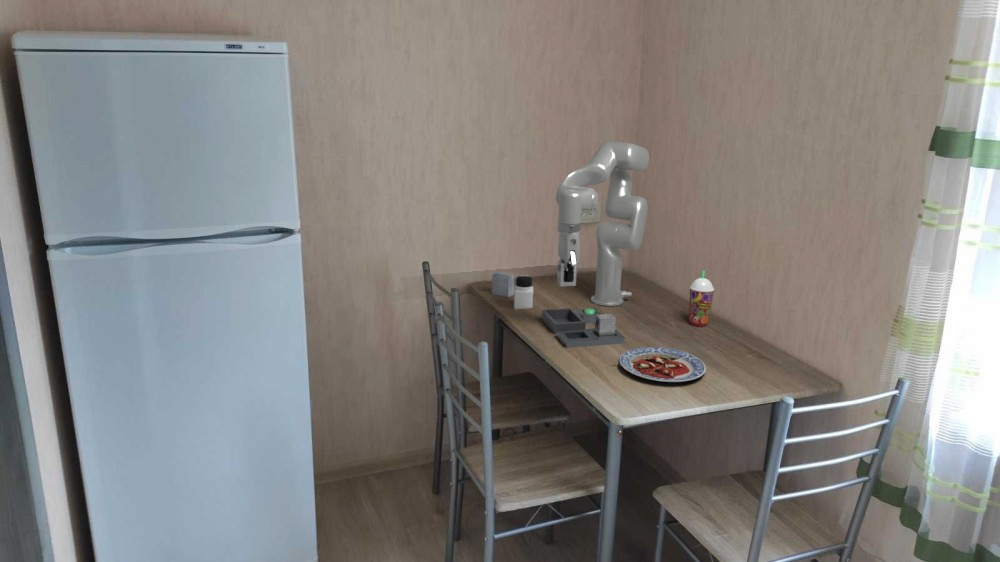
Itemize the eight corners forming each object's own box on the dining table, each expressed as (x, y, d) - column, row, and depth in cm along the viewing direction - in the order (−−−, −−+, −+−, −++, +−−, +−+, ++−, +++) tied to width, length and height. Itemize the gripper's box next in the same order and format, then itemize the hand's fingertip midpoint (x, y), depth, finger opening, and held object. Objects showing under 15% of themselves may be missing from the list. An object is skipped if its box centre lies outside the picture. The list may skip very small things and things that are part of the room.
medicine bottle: (533, 310, 270) (534, 279, 266) (514, 309, 270) (514, 279, 266) (532, 304, 277) (533, 274, 273) (514, 303, 277) (514, 273, 273)
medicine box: (514, 295, 287) (514, 274, 284) (508, 298, 283) (508, 276, 281) (497, 291, 291) (498, 271, 288) (491, 294, 287) (492, 273, 285)
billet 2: (609, 336, 243) (611, 313, 240) (614, 340, 239) (615, 317, 237) (593, 337, 241) (595, 314, 239) (598, 341, 238) (599, 318, 235)
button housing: (594, 318, 262) (595, 308, 261) (601, 325, 256) (602, 314, 254) (576, 319, 260) (576, 309, 259) (582, 326, 254) (583, 315, 253)
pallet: (612, 335, 246) (612, 327, 245) (624, 346, 237) (624, 337, 236) (556, 339, 242) (557, 331, 241) (566, 350, 232) (566, 342, 232)
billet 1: (572, 282, 248) (573, 259, 246) (575, 285, 244) (576, 263, 242) (556, 283, 247) (557, 260, 245) (559, 286, 243) (560, 263, 241)
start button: (591, 317, 260) (592, 307, 259) (595, 320, 256) (596, 311, 255) (582, 317, 259) (583, 308, 258) (586, 321, 256) (586, 311, 255)
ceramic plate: (678, 396, 203) (679, 386, 202) (602, 369, 219) (603, 360, 218) (719, 369, 221) (720, 360, 220) (646, 347, 237) (647, 338, 237)
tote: (570, 319, 260) (571, 308, 259) (585, 334, 247) (585, 322, 245) (541, 321, 258) (542, 309, 257) (554, 336, 244) (555, 324, 243)
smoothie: (697, 329, 253) (703, 275, 248) (681, 322, 260) (686, 269, 255) (715, 326, 257) (721, 272, 251) (699, 318, 264) (704, 266, 258)
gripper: (588, 232, 233) (585, 286, 238) (571, 221, 249) (569, 272, 254) (566, 233, 231) (563, 287, 237) (551, 222, 247) (548, 273, 252)
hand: (566, 279), depth 245 cm, fingers closed on billet 1, 4 cm apart
